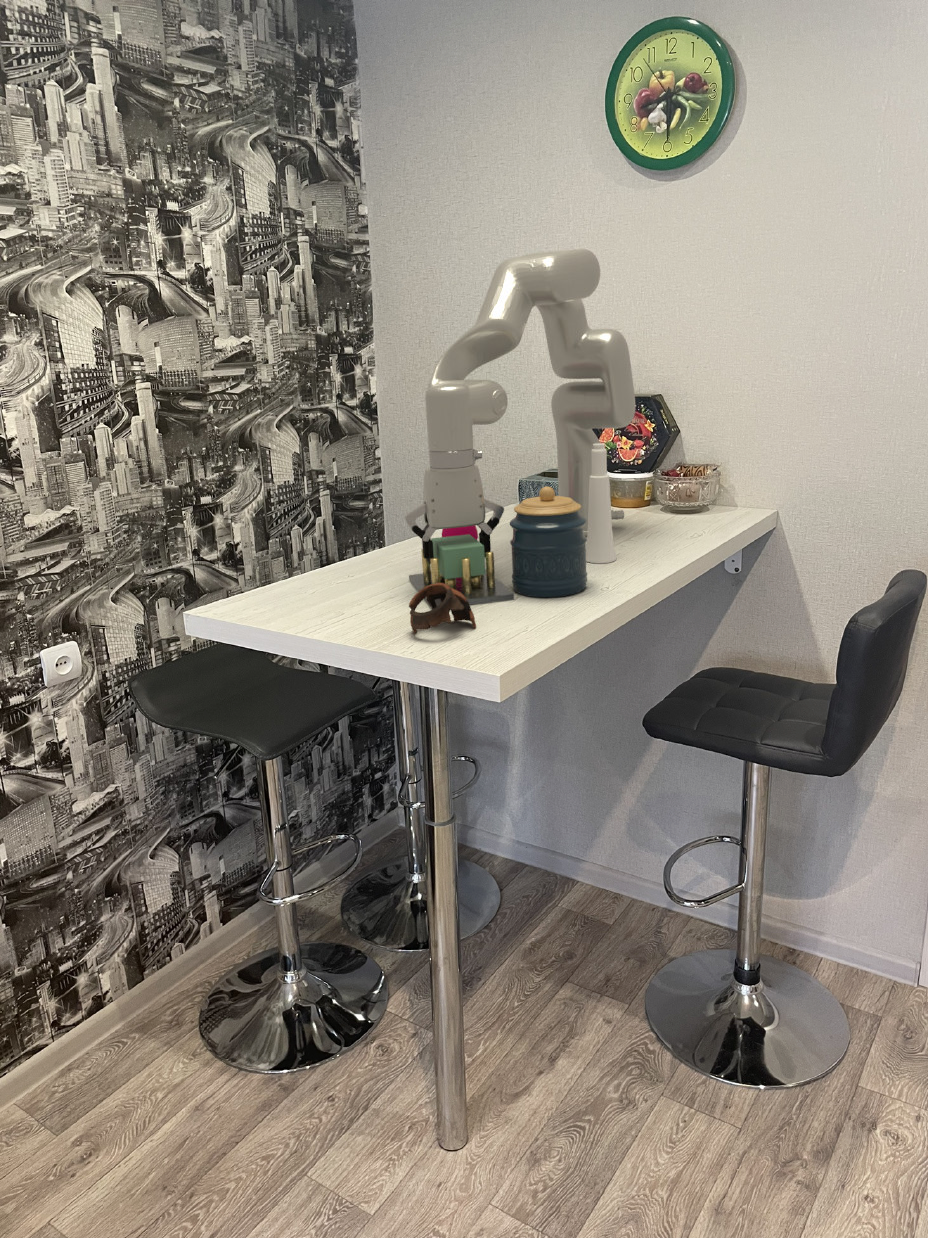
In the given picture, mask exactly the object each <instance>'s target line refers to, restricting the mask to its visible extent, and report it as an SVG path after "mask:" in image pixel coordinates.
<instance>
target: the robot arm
mask: <svg viewBox="0 0 928 1238" xmlns="http://www.w3.org/2000/svg"><path fill="white" fill-rule="evenodd" d="M600 279H601V265H600V261H599V260H598V257H597V256H596V255H595V254H594V252H592V251H591V250H589V249H586V248H578V249H567V250H558V251H557V250H555V251H545V252H544V251H543V252H536V253H535V252H534V253H529V254H523V255H522V256H517V257H511V258H508V259H505V260H503V261H502V262H501V263H500V264H499V265H498V266H497V268H496V269H495V271H494V273H493V276H492V278H491V281H490V283H489V287H488V290H487V292H486V295H485V297H484V301H483V303H482V305H481V308H480V311H479V314H478V316H477V319H476V322H475V323H474V325H473V326H472V327H470V328H469V329H468V330H467V331H465V332H464V333H463V334H462V335H461V336H460V337H458V339H457V340H455V341H454V342H453V343H452V344H451V345H450V346H449V347H448V348H447V349H446V350H445V351H444V352H443V353H442V355H441V356H440V357H439V359H438V360H437V362H436V365H435V366H434V370H433V372H432V375H431V378H430V379H429V383H428V386H427V389H426V391H425V399H424V400H425V401H424V402H425V413H426V415H425V416H426V427H427V429H426V430H427V431H426V432H427V443H428V445H427V446H428V458H429V462H428V463H429V468H426V469H425V470H424V475H423V476H424V477H423V488H422V489H423V490H422V491H423V495H422V498H423V499H422V500H423V502H422V504H421V505H420V506H418V507H416V508H415V509H414V510H412V511H410V512H409V513H407V514H405V516H404V520H405V522H406V523H407V525H408V526H409V528H410V530H411V532H413V534H415V535H416V536H417V537H419V538H420V539H421V542H422V543H421V544H422V545H421V546H422V549H423V557H424V559H427V561H428V562H429V564H430V565H431V560H430V559H431V558H434V553H433V542H432V541H431V538H432V536H433V535H434V533H436V530H443V529H447V528H457V527H466V526H476V527H477V528H479V529H480V532H479V533H478V541H479V542H480V543H481V544H482V545H484V555H485V559H486V554H485V552H488V551H491V550H492V549H491V548H492V547H491V535H492V533H493V531H494V530H495V529H496V527H497V526H498V525H499V523H500V520H501V518H502V517H503V514H504V512H505V507H504V506H502V505H500V504H497V503H495V502H493V501H490V500H488V499H486V498H485V495H484V490H483V489H484V488H483V483H482V477H481V473H480V470H479V466H478V465H475V464H476V461H477V460H481V459H482V458H483V452H482V450H477V449H475V448H474V436H473V426H474V425H477V426H478V425H479V426H480V425H482V426H483V425H484V426H485V425H492V424H494V423H497V422H498V421H500V420H501V418H503V417H504V416H505V413H506V411H507V407H508V396H507V392H506V391H505V390H506V389H504V387H503V386H502V385H501V384H500V383H498V382H496V381H495V380H491V379H466V378H467V376H469V375H470V374H472V372H475V370H476V369H479V368H480V367H482V366H483V365H486V364H487V363H491V362H493V361H495V360H498V359H499V358H501V357H503V356H505V355H507V354H509V353H510V352H512V351H514V350H515V349H517V347H518V346H519V345H520V343H521V340H522V337H523V335H524V332H525V329H526V326H527V323H528V320H529V317H530V315H531V312H532V309H533V308H534V307H536V309H537V310H538V311H539V314H540V316H541V318H542V323H543V327H544V331H545V338H546V343H547V344H546V345H547V348H548V350H547V351H548V355H549V361H550V364H551V369H552V371H553V373H554V374H555V375H556V376H557V377H559V378H561V379H568V380H569V379H570V380H582V379H583V380H587V379H590V380H589V381H588V380H587V381H570V382H565V383H563V384H560V385H559V386H558V387H557V388H556V389H555V390H554V391H553V393H552V396H551V399H550V400H551V404H550V405H551V406H550V407H551V408H550V409H551V412H552V418H553V419H552V420H553V423H554V430H555V435H556V451H557V455H556V456H557V486H558V487H557V489H558V490H557V493H558V495H557V496H563V497H569V498H571V499H572V500H573V501H575V502H576V503H578V504H580V505H581V509H580V510H578V511H579V514H580V515H582V516H583V517H585V518H586V523H585V524H584V526H583V531H584V536H585V537H587V531H588V505H589V479H590V476H591V475H592V454H591V451H592V449H594V447H593V444H595V443H601V442H600V439H599V438H598V436H597V435H596V433H595V432H594V431H593V429H621V428H625V427H627V426H629V425H630V424H631V423H632V421H633V420H634V417H635V415H636V396H635V394H636V393H635V387H634V381H633V380H634V379H633V371H632V366H631V365H632V364H631V356H630V349H629V346H628V343H627V340H626V337H624V335H623V333H621V332H620V331H619V330H617V329H613V328H600V329H598V328H597V329H591V327H589V324H588V319H587V316H586V309H585V304H584V303H583V299H585V298H589V297H590V296H592V295H593V294H594V292H595V291H596V290H597V288H598V286H599V283H600ZM591 379H592V381H591ZM593 379H599V381H594V380H593ZM486 508H487V509H489V510H491V511H493V514H492V516H491V517H490V518H489V520H488V521H487V522H486ZM421 516H423V521H424V523H425V525H424V527H423V528H420V526H419V525H418V524H417V522H416V520H418V518H420V517H421ZM611 518H612V521H613V520H623V519H625V512H624V510H622V509H620V510H615V511H614V510H613V509H611Z"/></svg>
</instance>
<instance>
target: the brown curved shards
mask: <svg viewBox="0 0 928 1238" xmlns="http://www.w3.org/2000/svg"><path fill="white" fill-rule="evenodd" d="M446 594H447V595H446ZM426 597H427V602H428V603H429V605H430V606H431V607H432V609H431V610H428V611H424V612H418V611H416V609H417V607H418V606H420V603H421V602H422V601H423V600H424V599H425V598H426ZM424 601H425V600H424ZM427 602H426V603H427ZM429 605H428V606H429ZM430 606H429V607H430ZM408 607H409V608H410V611H409V615H410V616H409V617H410V620H409V621H410V622H409V623H410V627H411V629H412V631H413V633H414V634H417V632H418V631H419V630H430V629H431V628H435V627H437V626H439V625H441V624H444V623H448V624H452V623H453V621H454V622H460V621H466V622H467V621H468V622H471V625H472V628H473V629H474V630H475V629H477V624H476V621H475V620H476V619H475V615H474V612H473V611H472V608H471V605H469V602H468V601H467V599H466V597H465V596H464V595H463V594H462V593H460V592H459V591H457V590H455V589H451V588H450V586H449V585H447V584H444V583H434V584H431V585H429V586H426V587H424V588H423V589H421V590H420V591H419V592H418V591H417V593H415V595H414V596H413V597H412V598H411V600H410V602H409V603H408ZM450 613H451V614H452V617H453V621H452V619H451V615H450ZM417 630H418V631H417Z"/></svg>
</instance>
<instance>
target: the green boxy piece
mask: <svg viewBox="0 0 928 1238" xmlns="http://www.w3.org/2000/svg"><path fill="white" fill-rule="evenodd" d="M431 541H432V542H433V553H434V557H437V558H439V571H440V574H441V575H442V576H443V577H444V578H445V579H451V578H459V577H463V574H462V558H470V568H471V576H477V575H485V569H486V558H485V555H484V545H482V544H481V543H480V542H479V540H478V539H477V540H476V539H475V538H474V537H472V536H471V535H470V534H468V535H459V536H449V537H442V536H441V537H431Z"/></svg>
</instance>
